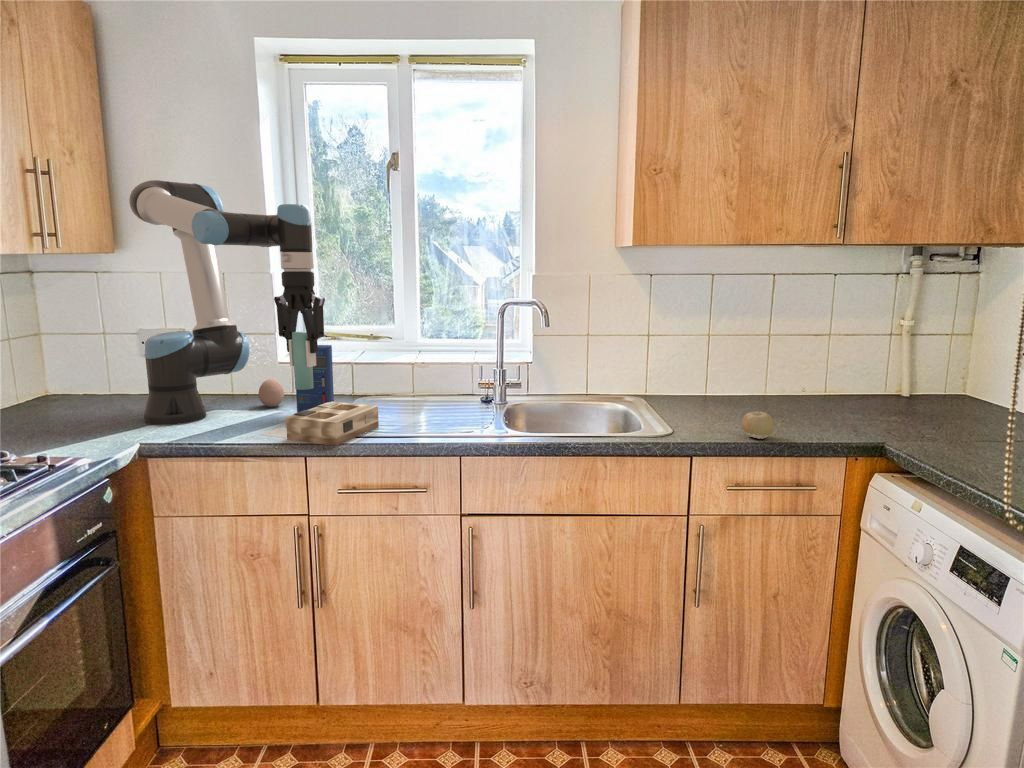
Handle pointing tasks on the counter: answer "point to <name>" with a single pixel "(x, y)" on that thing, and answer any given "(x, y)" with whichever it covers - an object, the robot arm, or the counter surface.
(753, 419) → the fruit
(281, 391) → the egg
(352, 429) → the socket block
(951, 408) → the counter surface
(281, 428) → the mat
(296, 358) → the pale green cylinder
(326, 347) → the electronic device
